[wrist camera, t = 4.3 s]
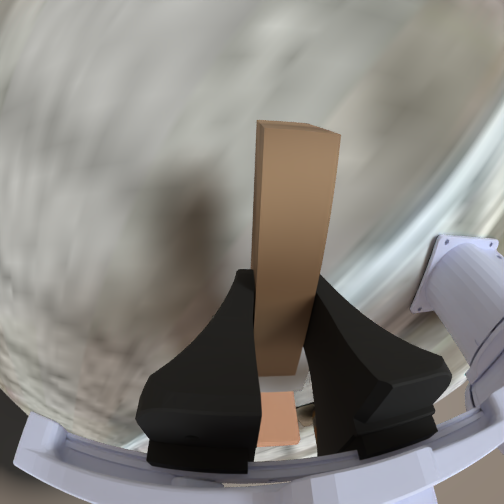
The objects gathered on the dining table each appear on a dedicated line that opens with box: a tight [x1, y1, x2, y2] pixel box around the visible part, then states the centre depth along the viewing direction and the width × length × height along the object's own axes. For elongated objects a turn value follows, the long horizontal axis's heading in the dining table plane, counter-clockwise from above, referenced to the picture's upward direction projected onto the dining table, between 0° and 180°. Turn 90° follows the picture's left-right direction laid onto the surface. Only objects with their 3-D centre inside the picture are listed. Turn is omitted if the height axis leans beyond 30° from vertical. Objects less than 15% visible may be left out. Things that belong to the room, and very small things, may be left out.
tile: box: [257, 391, 300, 447], centre depth 22 cm, size 7×1×8 cm, turn 88°
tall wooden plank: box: [212, 120, 341, 392], centre depth 12 cm, size 17×6×4 cm, turn 178°
